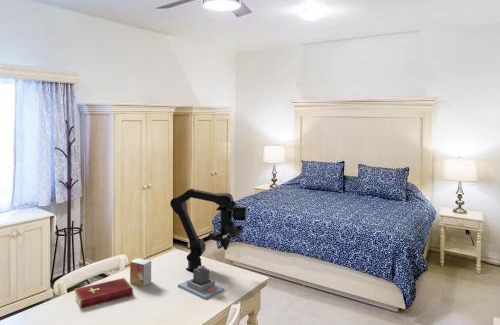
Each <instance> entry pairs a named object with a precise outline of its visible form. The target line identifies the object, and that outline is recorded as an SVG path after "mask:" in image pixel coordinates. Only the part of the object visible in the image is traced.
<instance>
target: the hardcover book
mask: <svg viewBox="0 0 500 325" xmlns="http://www.w3.org/2000/svg"><path fill="white" fill-rule="evenodd" d="M133 289H134V288H133V286H132V285H131V283H130V282H128V281H127V279H126V278H125V277H122V278H118V279H113V280H109V281H108V280H107V281H104V282H101V283H96V284H91V285H87V286H82V287H81V286H80V287H77V288H74V292H75V298H76V301H77V302H78V303H79V306H80V309H85V308H87V307H89V308H90V307H92V305H93V306H97V305H101V304H103V303H108V302H112V301H115V300H119V299H123V298H128V297H131V296H133V295H134V292H133V291H134V290H133ZM96 304H97V305H96Z"/></svg>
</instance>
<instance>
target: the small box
mask: <svg viewBox="0 0 500 325" xmlns="http://www.w3.org/2000/svg"><path fill="white" fill-rule="evenodd" d="M129 264H130V266H129V268H130V271H129V284H133V285H137V286H141V287H146V286H147V285H148V284H150V283H151V282H152V260H149V259H143V258H141V257H140V258H138V257H137V258H135V259H134V260H131V261H130V262H129Z"/></svg>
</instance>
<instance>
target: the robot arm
mask: <svg viewBox="0 0 500 325" xmlns="http://www.w3.org/2000/svg"><path fill="white" fill-rule="evenodd" d="M190 199H197V200H203V201H207V202H212V203H214V204H216V205H218V207H217V208H216V211H220V212H219V214H220V216H219V217H220V220H218V224H219V228H218V230H217V231H218V232H217V231H212V232H209V234H208V240H211V241H215V242H220V244H221V246H222V248H223V250H224V251H227V250H228V247H229V245H230V242H231V240H232V239H235V238H238V237H240V235H241V234H242V233H243V230H244V228H243V225H242V224H240V225H235V223H234V221H241V222H242V221H243V222H246V221H247V220H248V219H247V218H248V210H247V206H238V205H237V203H236V202H235V200H234V197H233V195H232V194H231V193H229V192H226V193H224V192H222V193H221V192H219V193H214V192H208V191H204V190H199V189H195V188H188V190H186V191H185V192H184V193H182V194H181V195H177V196H175V197H173V198H172V199H171V200H170V202H169V204H170V207H171V209H172V211H173V212H174V213H175V214H176V215H177V216H178V218H179V221H180V222H181V225H182V227H183V229H184V232H185V234H186V236H187V238H188V241H189V251H190V253H188V254H187V256H186V261H187V265H188V266H187V267H186V268H185V270H186V271H188V272H190V273H193V269H196V268H198V266H202V258H201V256H202V255H203V254H204V253H205V252H206V246H207V244H206V243H205V241H204V238H199V236H198V234H197V232H196V230H195V227H194V225H193V223H192V220H191V218H190V215H189V214H188V209H187V208H188V206H187V201H188V200H190ZM233 219H234V221H233Z"/></svg>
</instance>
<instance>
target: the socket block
mask: <svg viewBox="0 0 500 325" xmlns="http://www.w3.org/2000/svg"><path fill="white" fill-rule="evenodd" d="M177 287H178V288H180V289H182V290H184V291H186V292H188V293H190V294H193V295H195V296H197V297H199V298H201V299H204V300H208V299H209V298H212V297H213V296H216V295H218V294H219V293H221V292H224V291H225V287H223V286H221V285H220V284H219V285H218V284H216V281H215V280H214V279H211V278H209V283H206V284H204V285H202V286H200V285H198V284H195V283H193V278H191V279H188V280H185V281H183V282H181V283H179V284H177Z"/></svg>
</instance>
